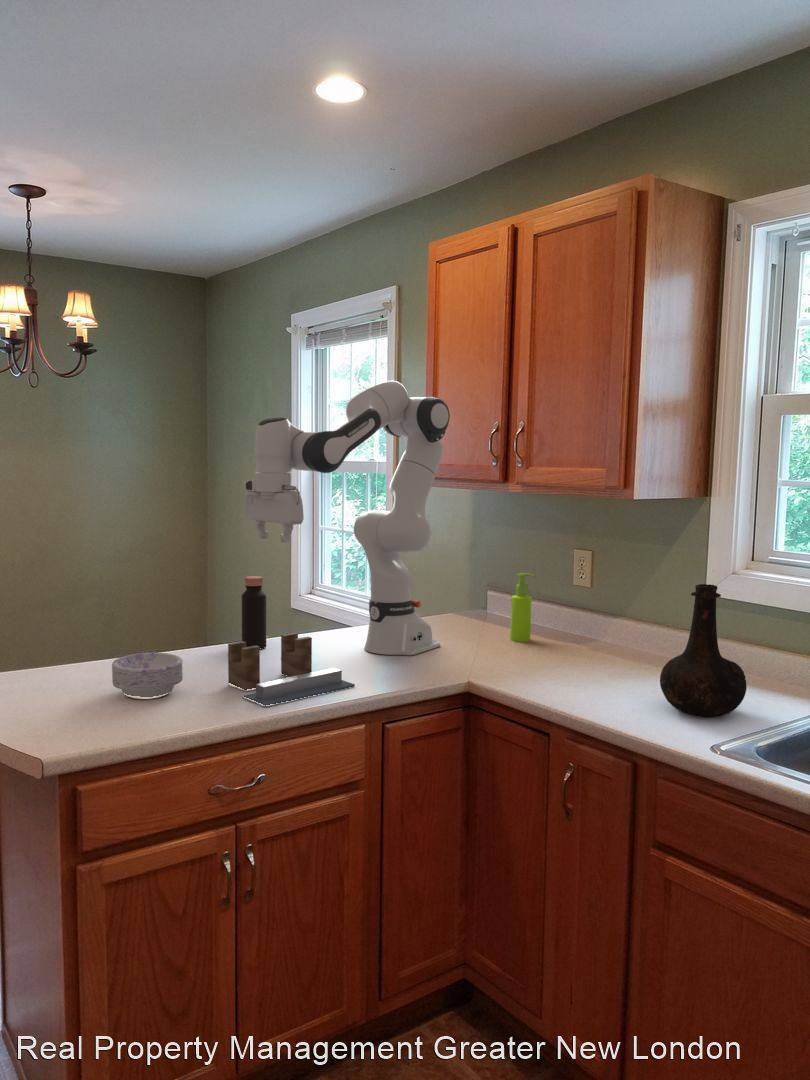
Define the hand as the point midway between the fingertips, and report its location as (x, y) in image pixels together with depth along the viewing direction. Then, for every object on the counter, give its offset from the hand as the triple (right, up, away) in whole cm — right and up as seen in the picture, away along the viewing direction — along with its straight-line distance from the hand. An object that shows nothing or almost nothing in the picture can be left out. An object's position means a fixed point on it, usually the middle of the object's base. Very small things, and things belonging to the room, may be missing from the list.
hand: (274, 540), depth 206 cm
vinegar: (-10, -30, +29) cm, 43 cm away
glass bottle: (+97, -38, -24) cm, 107 cm away
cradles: (0, -34, -5) cm, 34 cm away
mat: (+8, -35, -14) cm, 39 cm away
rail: (+8, -34, -14) cm, 38 cm away
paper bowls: (-26, -35, -17) cm, 47 cm away
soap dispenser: (+67, -30, +44) cm, 86 cm away
